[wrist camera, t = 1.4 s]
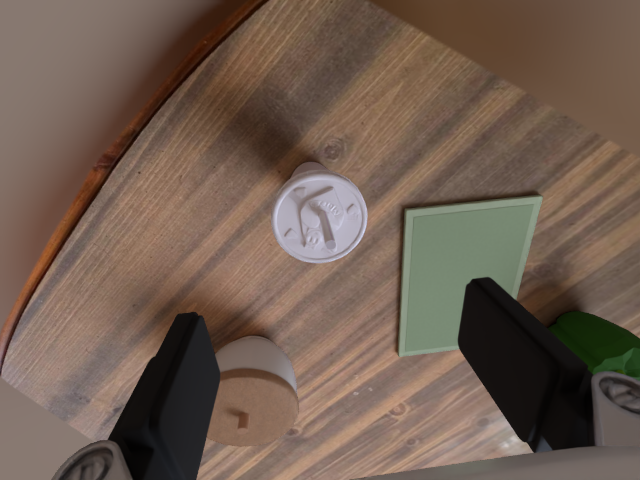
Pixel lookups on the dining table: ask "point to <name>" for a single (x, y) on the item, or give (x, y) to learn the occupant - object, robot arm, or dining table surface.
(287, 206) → the smoothie
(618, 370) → the bell pepper
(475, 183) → the dining table surface
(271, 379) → the trinket box
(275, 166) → the dining table surface
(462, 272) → the placemat
